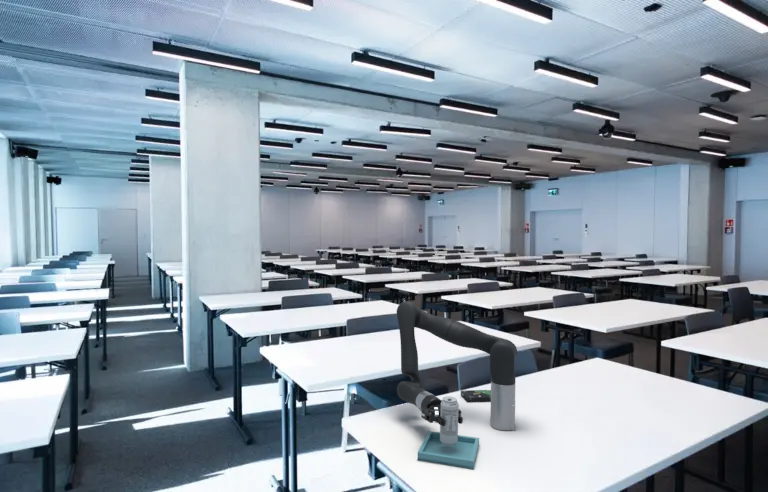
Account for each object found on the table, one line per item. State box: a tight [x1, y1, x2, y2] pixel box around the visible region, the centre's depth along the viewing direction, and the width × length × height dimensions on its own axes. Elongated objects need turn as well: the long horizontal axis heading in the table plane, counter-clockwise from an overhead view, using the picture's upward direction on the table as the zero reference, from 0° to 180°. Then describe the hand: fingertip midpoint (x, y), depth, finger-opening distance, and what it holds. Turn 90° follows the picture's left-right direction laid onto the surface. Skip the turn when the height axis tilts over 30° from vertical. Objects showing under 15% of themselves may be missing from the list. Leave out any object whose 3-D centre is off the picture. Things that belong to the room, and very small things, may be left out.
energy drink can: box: [439, 396, 460, 446], centre depth 152 cm, size 6×6×15 cm
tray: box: [417, 430, 480, 470], centre depth 152 cm, size 18×18×2 cm
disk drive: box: [460, 389, 491, 404], centre depth 207 cm, size 10×3×15 cm
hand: (453, 422), depth 150 cm, fingers closed on energy drink can, 6 cm apart
